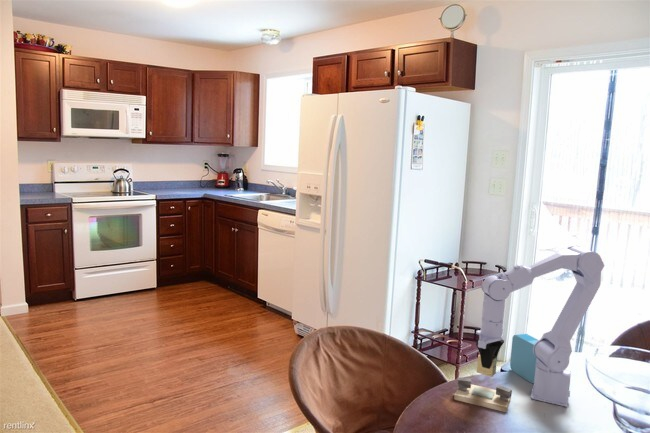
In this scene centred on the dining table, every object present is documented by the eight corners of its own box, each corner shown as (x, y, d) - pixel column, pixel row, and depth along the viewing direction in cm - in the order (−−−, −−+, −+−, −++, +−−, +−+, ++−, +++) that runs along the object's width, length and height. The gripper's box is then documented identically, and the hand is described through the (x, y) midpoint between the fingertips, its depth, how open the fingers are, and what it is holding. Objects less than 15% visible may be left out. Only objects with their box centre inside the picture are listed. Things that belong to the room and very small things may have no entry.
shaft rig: (512, 398, 144) (513, 383, 143) (508, 412, 136) (509, 396, 135) (459, 386, 150) (460, 371, 150) (452, 399, 142) (453, 383, 142)
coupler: (496, 373, 144) (498, 356, 144) (493, 377, 142) (494, 360, 141) (479, 368, 147) (480, 352, 147) (475, 372, 145) (477, 355, 144)
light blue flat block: (547, 384, 154) (551, 346, 153) (534, 385, 153) (538, 347, 151) (520, 367, 166) (524, 332, 164) (509, 369, 164) (512, 333, 163)
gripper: (487, 310, 150) (483, 354, 152) (468, 322, 139) (464, 369, 141) (511, 315, 146) (507, 360, 148) (494, 328, 135) (490, 377, 136)
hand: (488, 365), depth 144 cm, fingers closed on coupler, 3 cm apart
